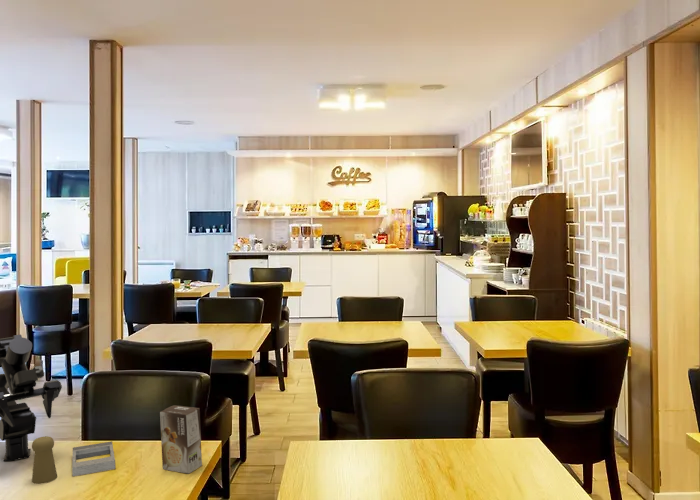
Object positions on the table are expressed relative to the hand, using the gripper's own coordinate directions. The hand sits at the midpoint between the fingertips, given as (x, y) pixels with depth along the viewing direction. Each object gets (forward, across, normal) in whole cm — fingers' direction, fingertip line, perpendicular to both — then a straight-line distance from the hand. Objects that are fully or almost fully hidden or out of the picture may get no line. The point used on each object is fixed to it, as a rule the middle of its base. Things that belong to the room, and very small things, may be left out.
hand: (32, 421), depth 163 cm
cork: (+15, 0, +4) cm, 16 cm away
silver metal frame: (+14, +13, +5) cm, 20 cm away
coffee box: (+30, +28, -11) cm, 43 cm away
